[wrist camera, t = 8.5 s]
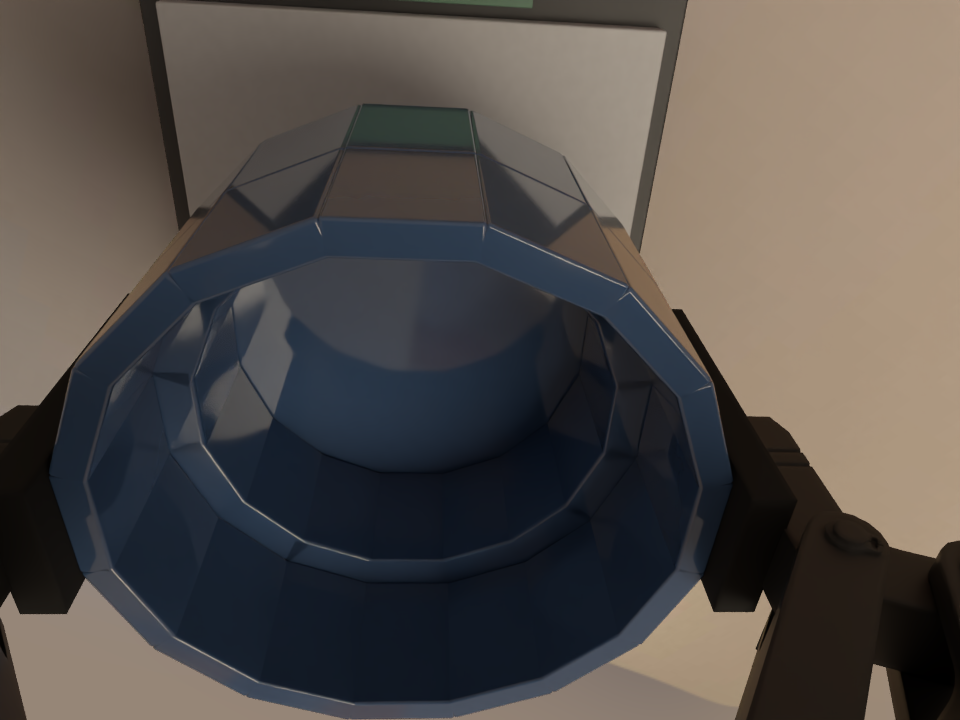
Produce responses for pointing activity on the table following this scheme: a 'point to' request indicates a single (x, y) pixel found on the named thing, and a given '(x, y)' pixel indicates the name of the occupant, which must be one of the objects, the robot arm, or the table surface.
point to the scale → (417, 78)
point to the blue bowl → (394, 427)
